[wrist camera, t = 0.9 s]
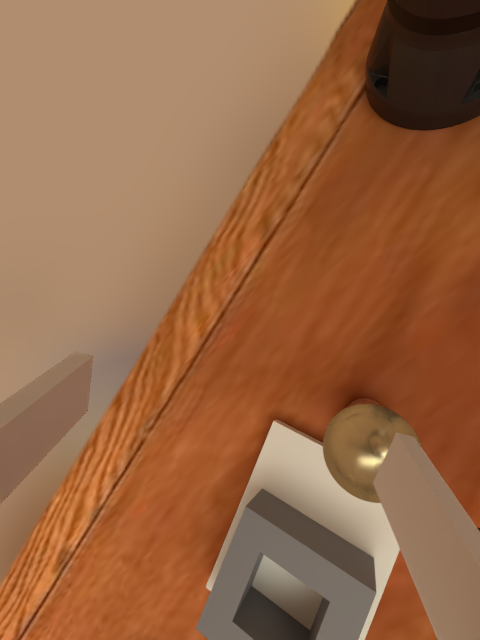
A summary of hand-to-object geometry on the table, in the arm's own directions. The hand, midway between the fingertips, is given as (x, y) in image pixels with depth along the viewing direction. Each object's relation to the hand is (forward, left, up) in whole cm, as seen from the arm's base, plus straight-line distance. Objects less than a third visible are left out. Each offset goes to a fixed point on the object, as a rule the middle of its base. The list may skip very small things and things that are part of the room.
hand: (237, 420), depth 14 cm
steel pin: (0, +6, -21) cm, 22 cm away
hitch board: (+13, +5, -21) cm, 25 cm away
